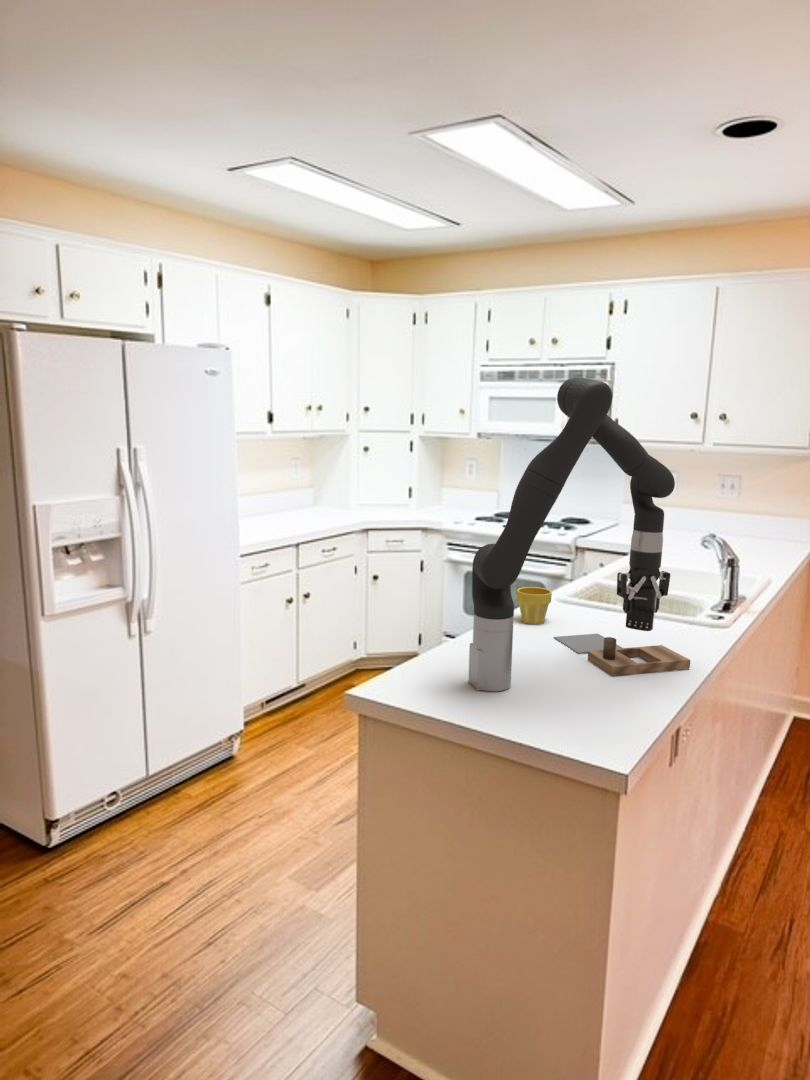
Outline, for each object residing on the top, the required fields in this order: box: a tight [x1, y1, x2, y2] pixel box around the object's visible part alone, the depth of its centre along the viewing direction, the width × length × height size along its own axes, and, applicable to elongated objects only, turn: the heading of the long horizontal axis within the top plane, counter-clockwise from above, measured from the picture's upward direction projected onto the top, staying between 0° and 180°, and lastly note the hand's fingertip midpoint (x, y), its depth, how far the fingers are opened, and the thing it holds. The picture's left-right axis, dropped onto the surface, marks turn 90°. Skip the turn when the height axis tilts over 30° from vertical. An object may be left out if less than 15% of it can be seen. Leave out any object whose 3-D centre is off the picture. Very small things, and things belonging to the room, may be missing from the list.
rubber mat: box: [553, 633, 623, 655], centre depth 204 cm, size 14×14×1 cm
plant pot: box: [516, 586, 553, 625], centre depth 224 cm, size 10×10×10 cm
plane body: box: [587, 636, 691, 677], centre depth 188 cm, size 22×12×8 cm, turn 106°
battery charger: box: [625, 586, 657, 632], centre depth 186 cm, size 7×4×11 cm, turn 61°
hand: (640, 612), depth 186 cm, fingers closed on battery charger, 7 cm apart
